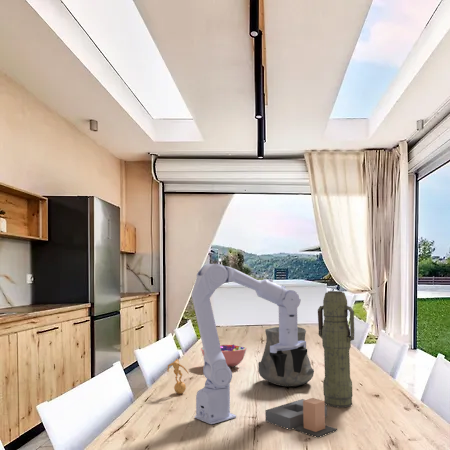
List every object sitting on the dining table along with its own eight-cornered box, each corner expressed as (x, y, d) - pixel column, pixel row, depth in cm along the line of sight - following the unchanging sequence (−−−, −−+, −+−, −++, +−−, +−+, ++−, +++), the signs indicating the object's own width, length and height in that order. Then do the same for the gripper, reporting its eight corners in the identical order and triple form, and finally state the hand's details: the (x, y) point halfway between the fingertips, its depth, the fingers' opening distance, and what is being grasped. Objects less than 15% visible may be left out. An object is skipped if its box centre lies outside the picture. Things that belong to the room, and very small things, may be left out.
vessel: (292, 396, 150) (291, 335, 152) (246, 383, 167) (245, 328, 169) (331, 384, 165) (329, 329, 166) (285, 374, 181) (284, 323, 183)
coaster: (318, 438, 113) (318, 436, 113) (293, 429, 120) (293, 427, 120) (337, 430, 119) (337, 428, 119) (312, 422, 125) (312, 421, 125)
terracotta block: (315, 431, 117) (314, 404, 117) (303, 427, 120) (303, 400, 120) (325, 428, 119) (324, 401, 120) (313, 424, 122) (312, 397, 123)
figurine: (193, 393, 154) (193, 357, 155) (184, 398, 149) (184, 361, 150) (172, 390, 158) (172, 355, 159) (163, 395, 152) (163, 359, 153)
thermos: (324, 396, 149) (321, 290, 152) (360, 402, 143) (356, 291, 146) (315, 403, 142) (312, 291, 145) (352, 410, 135) (348, 292, 139)
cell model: (247, 372, 185) (247, 344, 186) (199, 372, 185) (199, 344, 186) (246, 363, 202) (245, 337, 203) (201, 363, 202) (201, 337, 203)
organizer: (289, 429, 119) (289, 418, 120) (265, 421, 126) (265, 410, 126) (326, 416, 130) (326, 405, 130) (302, 409, 136) (302, 399, 137)
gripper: (281, 332, 131) (282, 380, 130) (313, 327, 140) (314, 372, 139) (264, 330, 136) (265, 376, 135) (296, 325, 146) (297, 368, 144)
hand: (289, 374), depth 137 cm, fingers open, 7 cm apart
